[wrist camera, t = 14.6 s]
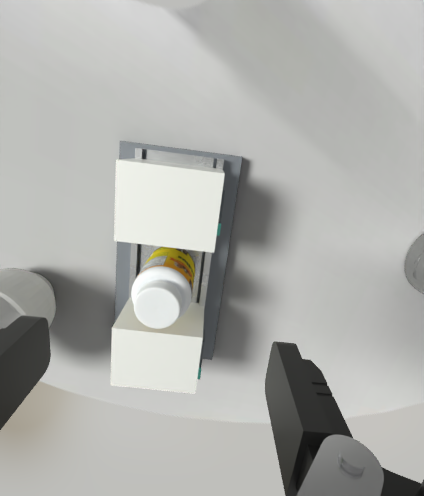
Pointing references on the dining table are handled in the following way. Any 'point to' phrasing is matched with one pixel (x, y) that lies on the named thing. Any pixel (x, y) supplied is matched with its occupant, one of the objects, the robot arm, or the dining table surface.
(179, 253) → the supplement bottle
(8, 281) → the teacup
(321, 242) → the dining table surface
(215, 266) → the rail board
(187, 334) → the mounted modules
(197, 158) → the steel rail
